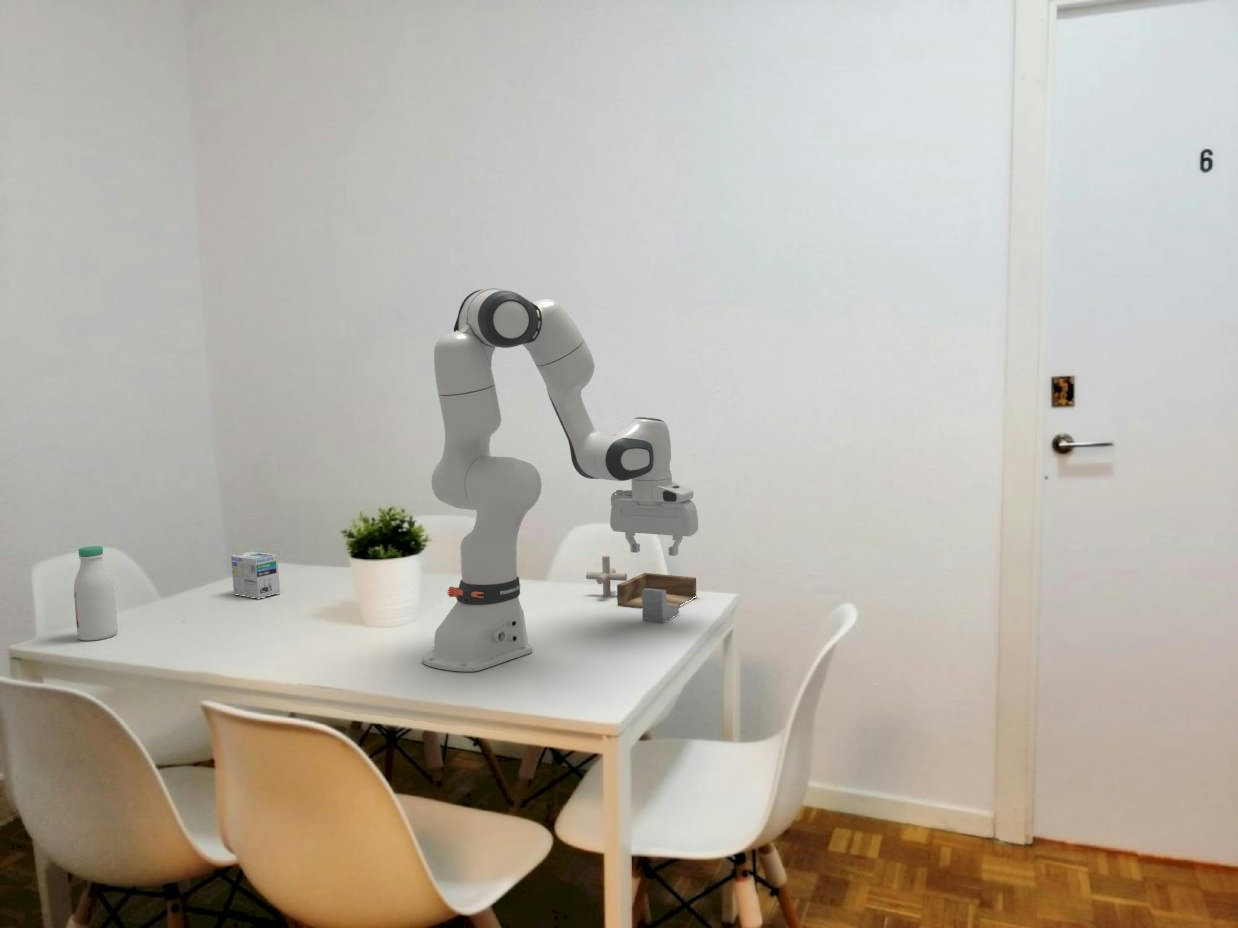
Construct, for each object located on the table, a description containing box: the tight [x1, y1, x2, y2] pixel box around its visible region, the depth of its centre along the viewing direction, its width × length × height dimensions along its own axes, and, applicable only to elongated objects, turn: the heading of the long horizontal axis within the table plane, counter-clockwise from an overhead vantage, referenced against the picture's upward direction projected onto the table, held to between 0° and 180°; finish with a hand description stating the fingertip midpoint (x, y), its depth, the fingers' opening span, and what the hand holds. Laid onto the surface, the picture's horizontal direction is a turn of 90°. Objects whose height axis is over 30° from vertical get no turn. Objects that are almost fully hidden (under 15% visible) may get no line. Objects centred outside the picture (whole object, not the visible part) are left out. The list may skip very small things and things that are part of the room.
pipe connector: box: [585, 555, 628, 598], centre depth 223 cm, size 10×10×10 cm
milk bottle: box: [73, 545, 119, 642], centre depth 199 cm, size 8×8×20 cm
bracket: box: [641, 588, 680, 624], centre depth 202 cm, size 8×5×7 cm, turn 150°
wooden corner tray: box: [616, 572, 697, 609], centre depth 216 cm, size 14×14×5 cm
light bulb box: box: [230, 551, 281, 598], centre depth 234 cm, size 11×7×11 cm, turn 58°
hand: (654, 553), depth 198 cm, fingers open, 8 cm apart
